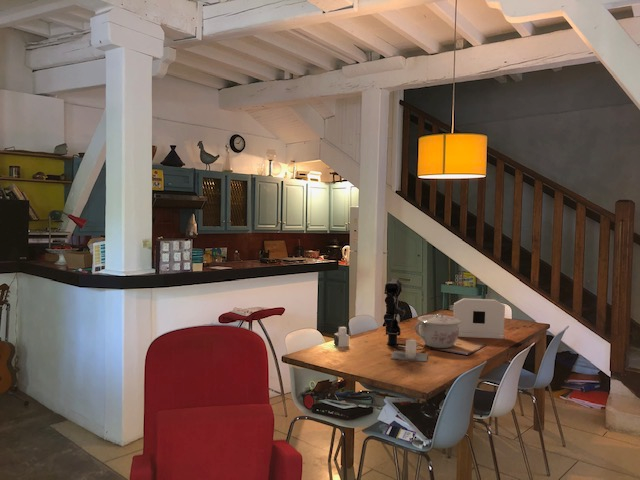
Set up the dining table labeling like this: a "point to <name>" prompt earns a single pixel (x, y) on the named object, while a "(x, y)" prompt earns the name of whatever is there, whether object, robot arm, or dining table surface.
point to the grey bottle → (341, 337)
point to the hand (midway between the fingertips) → (390, 328)
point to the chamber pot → (438, 330)
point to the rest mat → (401, 356)
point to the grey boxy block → (480, 318)
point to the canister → (411, 349)
